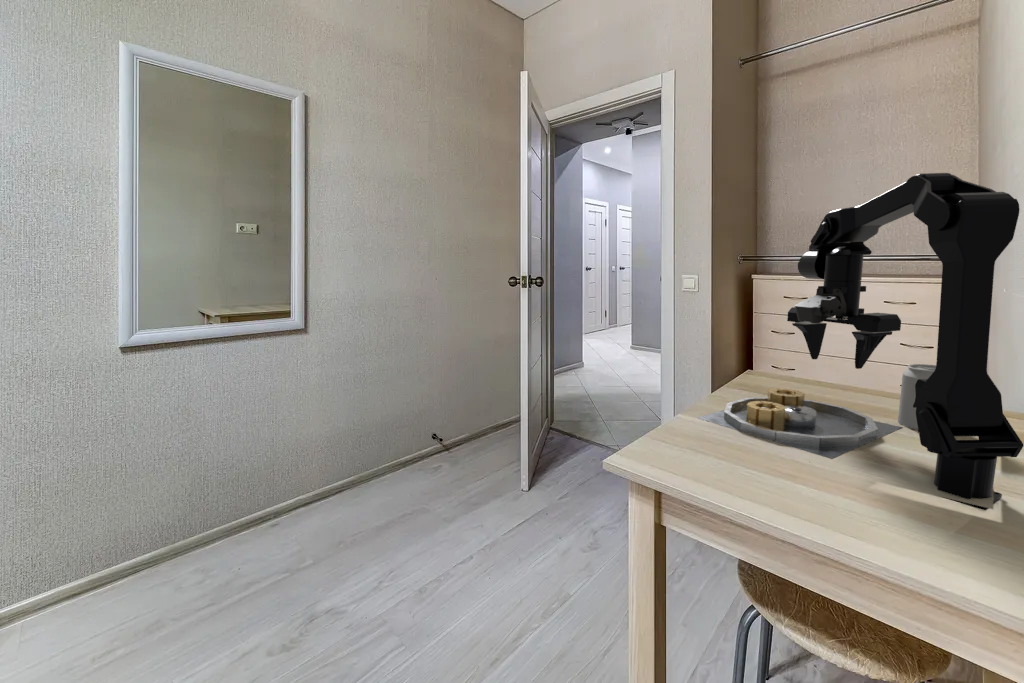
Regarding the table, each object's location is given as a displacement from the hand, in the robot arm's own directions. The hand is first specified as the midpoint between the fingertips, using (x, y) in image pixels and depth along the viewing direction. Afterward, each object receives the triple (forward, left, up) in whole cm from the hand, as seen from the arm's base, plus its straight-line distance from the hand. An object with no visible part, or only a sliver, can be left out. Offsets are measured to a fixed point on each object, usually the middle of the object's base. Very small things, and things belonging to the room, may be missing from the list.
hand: (835, 363), depth 91 cm
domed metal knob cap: (-7, +3, -11) cm, 13 cm away
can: (+10, -11, -12) cm, 19 cm away
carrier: (-7, +3, -12) cm, 14 cm away
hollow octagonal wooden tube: (-14, +5, -11) cm, 18 cm away
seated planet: (-2, +8, -11) cm, 14 cm away
